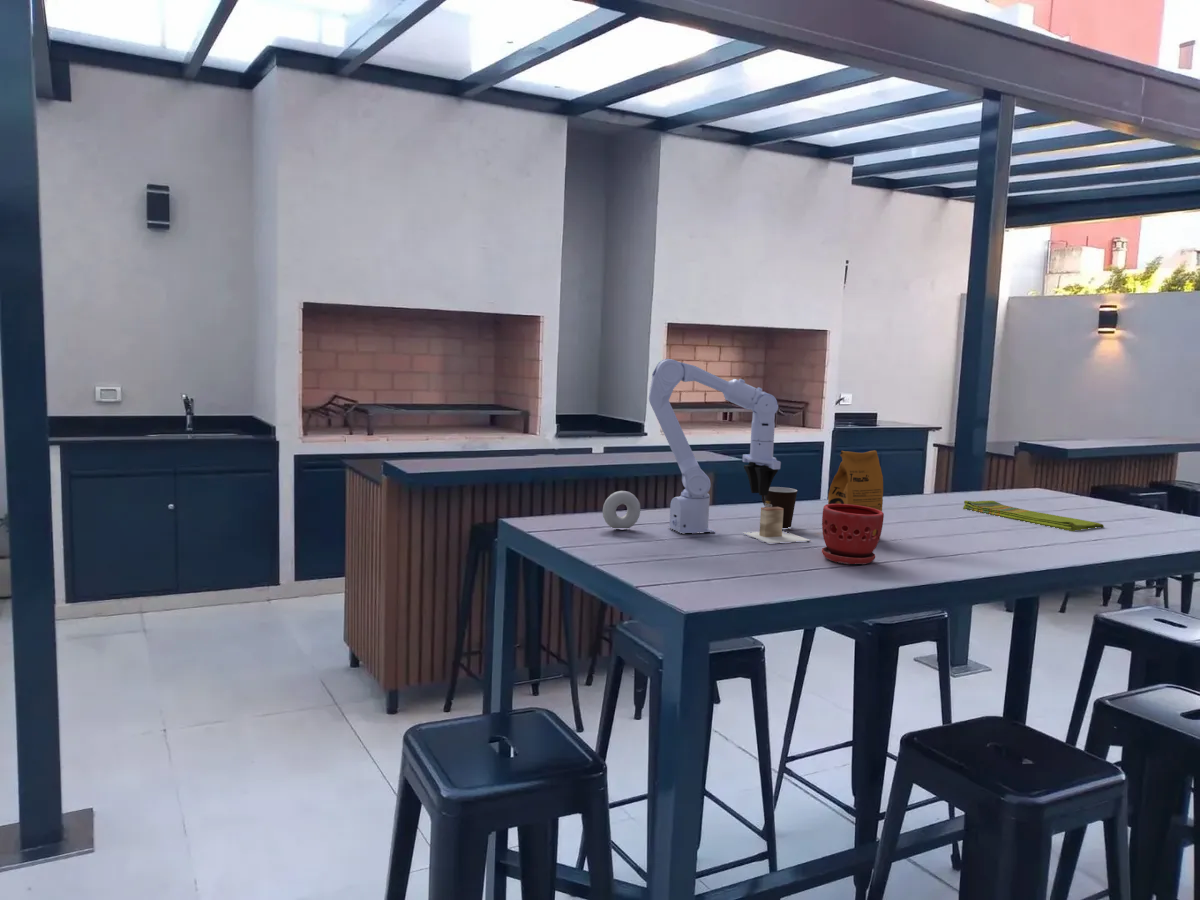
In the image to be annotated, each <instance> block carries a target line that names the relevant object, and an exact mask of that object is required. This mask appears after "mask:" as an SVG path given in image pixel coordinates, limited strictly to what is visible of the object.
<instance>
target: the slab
mask: <svg viewBox="0 0 1200 900" xmlns="http://www.w3.org/2000/svg"><path fill="white" fill-rule="evenodd" d="M783 510H784V508H780V507H765V506H764V507H760V516H759V517H760V519H759V520H760V521H759V532H760V534H759V535H760V536H763V537H779V536H782V527H783Z"/></svg>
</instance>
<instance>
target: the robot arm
mask: <svg viewBox="0 0 1200 900" xmlns="http://www.w3.org/2000/svg"><path fill="white" fill-rule="evenodd" d="M680 382H683V383H684V382H685V383H687V382H696V383H698V384H701V385H704V386H706V387H708V388H711V389H713V390H716V391H718V392H720V393H722V394H723V397H724V400H726V401H727V402H730V403H732V404H735V405H736V406H739V407H741V408H743V409H746V410H751V411H752V420H751V427H750V448H749V449H750V450H749V453H748V454H746V453H745V454H742V462H743V463H748V464H744V465H743V469H744V471H745V473H746V475H747V478H748V481H749V482H748V483H749V487H750V492H751V494H758V495H759V496H762V495H768V492H769V488H770V487H771V485H772V482H773V480H774V478H775V476H776V475H777V473H778V471H779V470H781V465H782V462H781V461H780V460H778V459H777V457H774V444H775V443H774V441H775V428H776V427H775V425H776V423H775V415H776V413H777V412H778V409H779V404H778V401H777V399H776V397H775V396H774V395H773V394H771V393H767V392H766V391H763V388H761V387H760V386H759V387H758V386H757V388H756V387H754V386H752V385H750V384H748V383H746V380H744V379H742V378H739V379H736V378H733V379H730V380H728V381H727V380H726V379H723V378H721V377H719V376H717V375H715V374H713V373H711V372H708V371H706V370H705V369H702V368H701V367H699V366H696V365H693V364H689V363H686V362H683V361H682V362H681V361H678V360H676V359H671V358H664V359H661V360H660V361H659V362H658V363H657V364H656V366H655V367H654V369H653V372H652V375H651V381H650V387H649V394H648V401H649V404H650V406H651V407H652V410H653V411H652V412H653V413H654V415H655V417H656V419H657V421H658V424H659V425H660V426H659V427H660V428H661V431H662V432H663V434H664V437H665V439H666V441H667V443H668V445H669V448H670V449H671V452H672V454H673V456H674V458H675V460H676V462H677V465H678V468H679V470H680V472H681V482H682V485H683V487H684V489H682V491H681V493H680V496H679V495H678V496H675V497H673V498H672V499H671V501H670V504H669V505H670V506H669V507H670V508H669V522H668V523H669V525H668V526H667V528H668V527H670V528H672V529H674V530H676V531H678V532H680V533H679V534H681V533H692V534H701V533H700V532H710V533H715V532H716V530H715V529H711V528H710V527H709V522H710V521H709V520H710V499H711V498H710V497H711V495H710V493H709V491H710V489H711V487H712V484H711V480H710V477H709V476H708V474H706V473H705V471H704V470H703V469H701V466H700V464H699V463H698V461H697V459H696V456H695V455H694V453H693V450H692V448H691V446H690V444H689V440H687V438H686V435H685V433H684V430H683V429H682V427H681V424H680V422H679V420H678V418H677V416H676V413H675V411H674V409H673V407H672V404H671V402H670V398H671V396H672V395H673V392H674V389H675V387H677V386H678V385H679V383H680ZM672 529H671V530H672ZM674 530H673V531H674ZM676 531H675V532H676ZM714 531H715V532H714ZM678 532H677V533H678ZM697 532H699V533H697Z"/></svg>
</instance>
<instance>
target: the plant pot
mask: <svg viewBox="0 0 1200 900" xmlns="http://www.w3.org/2000/svg"><path fill="white" fill-rule="evenodd" d="M884 514H885V513H884V512H883V510H882V511H880V510H877V509H874V508H870V507H865V506H859V505H851V504H828V503H827V504H825V505H824V506H823V508H822V515H821V516H822V518H821V527H822V528H821V530H822V537H823V541H824V544H825V545H826V546H824V547H823V548H822V549H821V553H822V555H823V557H824V558H825V559H827V560H828V559H829V560H828V561H831V562H833V563H837V562H838V563H837V564H842V563H844V565H850V564H862V565H867V564H870V563H872V562H873V561H875V558H876V554H875V553H874V551H875V550H876V548H877V546H878V543H879V542H880V539H881V534H882V531H883V525H884V517H885V515H884ZM835 525H836V527H837V528H836V527H835ZM875 529H876V534H875V536H873V531H874V530H875Z"/></svg>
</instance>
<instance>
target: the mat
mask: <svg viewBox="0 0 1200 900" xmlns="http://www.w3.org/2000/svg"><path fill="white" fill-rule="evenodd" d="M784 531H785V530H783V532H784ZM751 532H752V533H750V532H747V533H746V532H743V533H744V534H747V535H749V536H751V537H754V538H756V539H759V540H761V541H764V542H767V543H780V542H796V541H812V540H811V539H808V538H806V537H803V536H799V535H798V534H794V533H792V532H789V533H790V534H789V533H787V532H788V531H786V532H785V533H787V534H785V533H783V532H782V536H779V537H763V536H760V535H759V534H760V531H751ZM751 537H750V538H751ZM756 539H755V540H756ZM761 541H760V542H761ZM764 542H763V543H764Z"/></svg>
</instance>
